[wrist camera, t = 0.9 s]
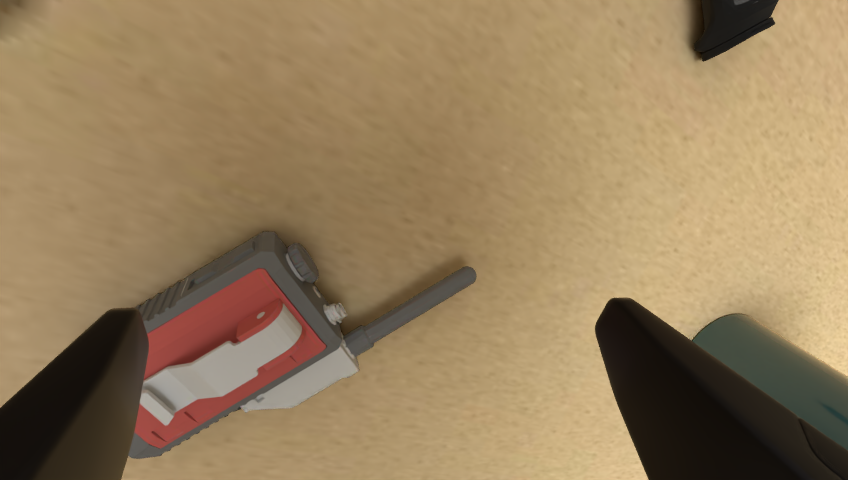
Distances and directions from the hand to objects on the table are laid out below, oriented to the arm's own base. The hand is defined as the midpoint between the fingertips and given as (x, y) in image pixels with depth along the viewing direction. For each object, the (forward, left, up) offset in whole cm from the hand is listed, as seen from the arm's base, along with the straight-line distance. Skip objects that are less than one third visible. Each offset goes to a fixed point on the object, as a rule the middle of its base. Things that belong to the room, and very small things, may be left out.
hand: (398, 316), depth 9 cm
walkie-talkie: (-9, -2, -15) cm, 18 cm away
